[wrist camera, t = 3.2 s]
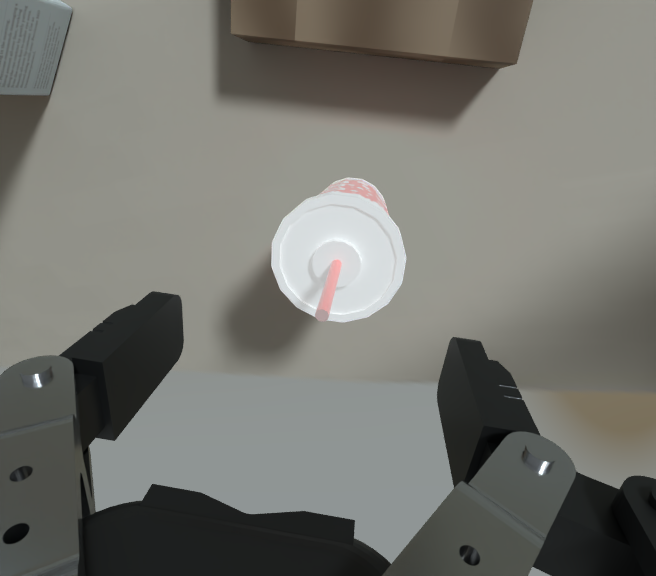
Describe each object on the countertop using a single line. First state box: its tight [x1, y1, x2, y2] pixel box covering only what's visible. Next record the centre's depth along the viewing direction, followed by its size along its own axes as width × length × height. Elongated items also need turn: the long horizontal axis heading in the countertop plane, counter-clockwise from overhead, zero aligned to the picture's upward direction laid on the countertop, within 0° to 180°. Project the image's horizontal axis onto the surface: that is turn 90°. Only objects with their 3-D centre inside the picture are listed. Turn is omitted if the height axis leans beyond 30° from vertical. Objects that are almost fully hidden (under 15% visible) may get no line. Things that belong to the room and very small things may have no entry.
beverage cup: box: [271, 178, 406, 322], centre depth 20 cm, size 6×6×14 cm
